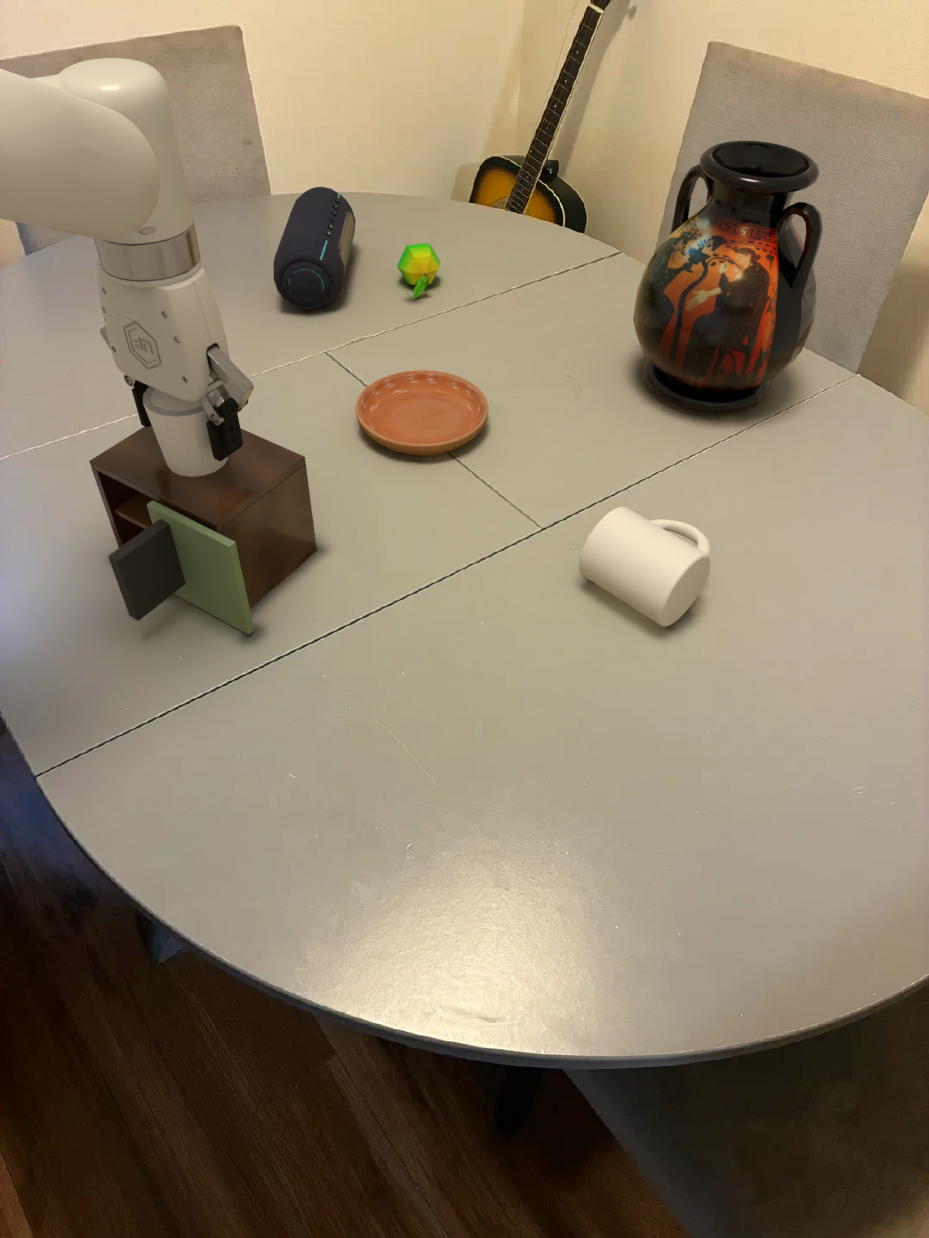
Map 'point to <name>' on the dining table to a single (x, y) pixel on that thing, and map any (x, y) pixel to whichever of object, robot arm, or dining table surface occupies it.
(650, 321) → the amphora vase
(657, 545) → the mug
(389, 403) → the saucer
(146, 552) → the sliding door
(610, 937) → the dining table surface
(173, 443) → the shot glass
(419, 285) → the apple
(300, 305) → the portable speaker
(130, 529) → the cupboard
